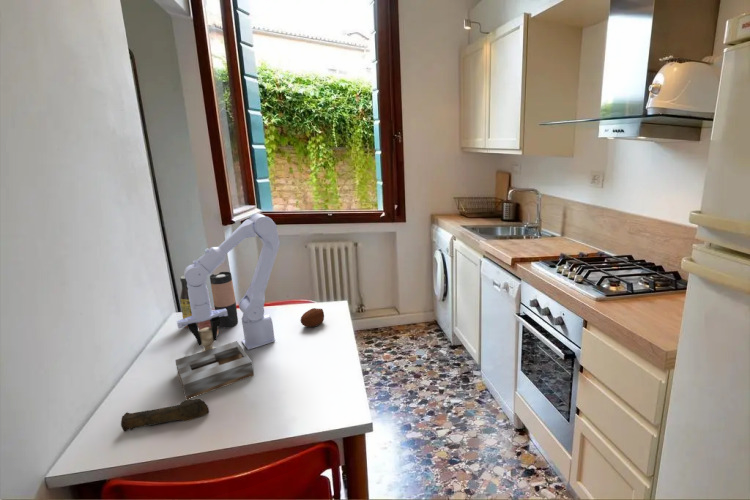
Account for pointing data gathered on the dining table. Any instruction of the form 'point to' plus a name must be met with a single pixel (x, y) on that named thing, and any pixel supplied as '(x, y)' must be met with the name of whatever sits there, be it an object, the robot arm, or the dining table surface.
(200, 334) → the keyhole peg
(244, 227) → the robot arm
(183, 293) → the sauce bottle
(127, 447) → the dining table surface
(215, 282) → the travel mug
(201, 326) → the pill bottle
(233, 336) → the dining table surface
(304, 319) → the potato
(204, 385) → the keyhole plate
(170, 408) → the hand tool
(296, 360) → the dining table surface
